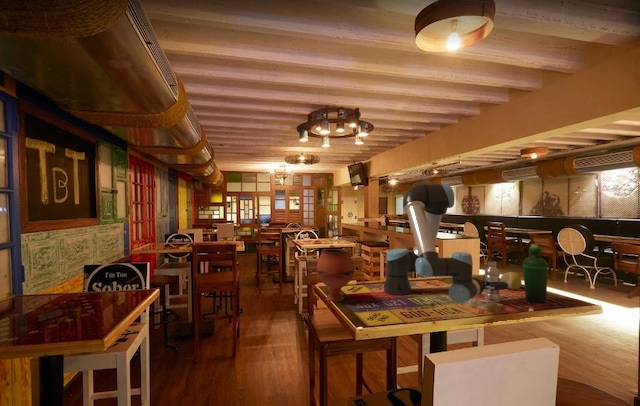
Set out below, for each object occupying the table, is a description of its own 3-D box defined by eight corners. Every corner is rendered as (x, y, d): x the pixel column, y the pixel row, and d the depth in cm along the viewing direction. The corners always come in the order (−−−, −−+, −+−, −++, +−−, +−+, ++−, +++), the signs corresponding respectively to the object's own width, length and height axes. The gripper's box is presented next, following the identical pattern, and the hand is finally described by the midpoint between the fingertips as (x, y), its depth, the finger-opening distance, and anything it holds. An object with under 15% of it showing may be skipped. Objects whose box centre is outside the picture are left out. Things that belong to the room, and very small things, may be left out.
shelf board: (460, 304, 151) (460, 297, 151) (467, 300, 157) (467, 293, 157) (496, 312, 139) (496, 304, 139) (503, 307, 146) (503, 300, 146)
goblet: (362, 300, 157) (361, 251, 157) (329, 307, 147) (329, 253, 148) (340, 292, 173) (340, 247, 174) (310, 297, 164) (309, 249, 164)
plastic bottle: (502, 305, 150) (502, 263, 150) (487, 304, 151) (486, 262, 151) (497, 301, 156) (497, 260, 156) (483, 300, 157) (482, 260, 158)
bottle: (546, 299, 159) (545, 244, 160) (551, 305, 150) (550, 246, 150) (521, 296, 164) (520, 243, 164) (524, 302, 154) (524, 245, 155)
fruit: (512, 286, 185) (511, 269, 185) (526, 291, 174) (526, 273, 174) (496, 287, 183) (496, 270, 184) (509, 292, 173) (509, 274, 173)
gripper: (443, 290, 143) (462, 282, 158) (504, 302, 125) (519, 292, 140) (443, 274, 143) (461, 268, 158) (504, 283, 125) (518, 275, 140)
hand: (488, 279), depth 149 cm, fingers open, 13 cm apart
